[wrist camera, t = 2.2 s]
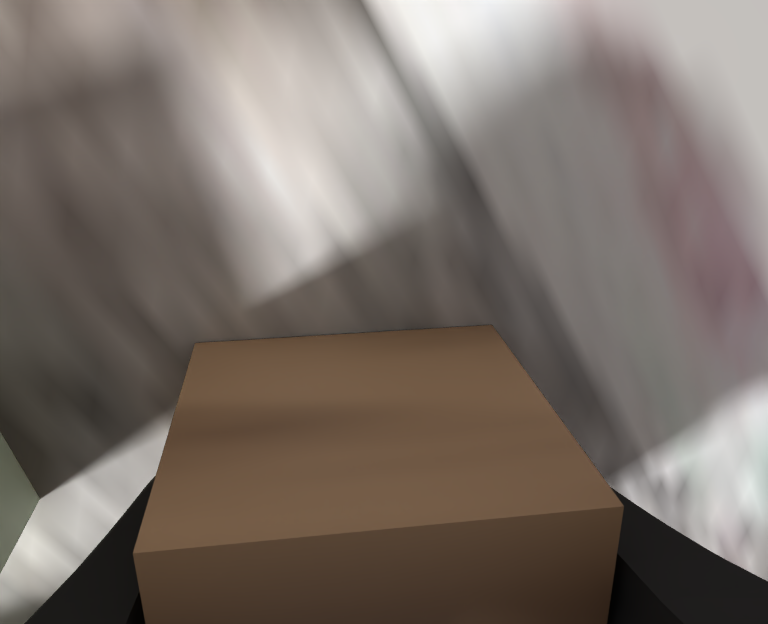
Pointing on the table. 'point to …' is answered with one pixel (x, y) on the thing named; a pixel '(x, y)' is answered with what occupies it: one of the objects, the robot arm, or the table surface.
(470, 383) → the walnut cube
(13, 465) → the sage cube
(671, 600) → the robot arm
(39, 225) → the table surface
